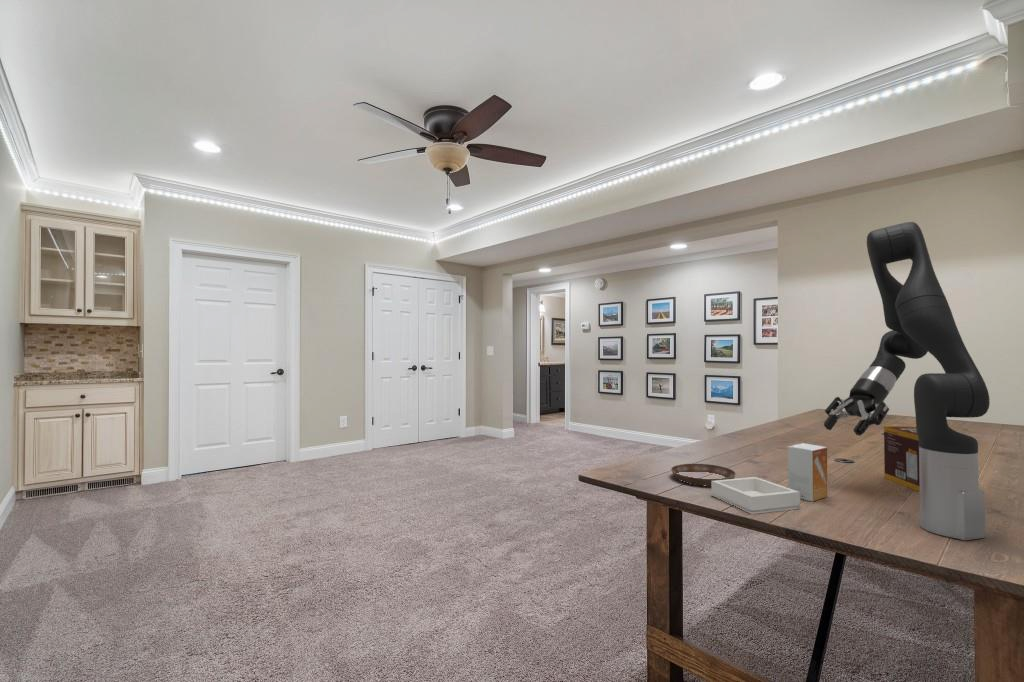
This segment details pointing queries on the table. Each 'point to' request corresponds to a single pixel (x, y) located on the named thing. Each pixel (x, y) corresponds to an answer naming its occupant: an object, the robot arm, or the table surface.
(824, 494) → the small box
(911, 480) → the supplement box
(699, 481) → the brown round ring
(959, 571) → the table surface
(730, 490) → the grey basin
